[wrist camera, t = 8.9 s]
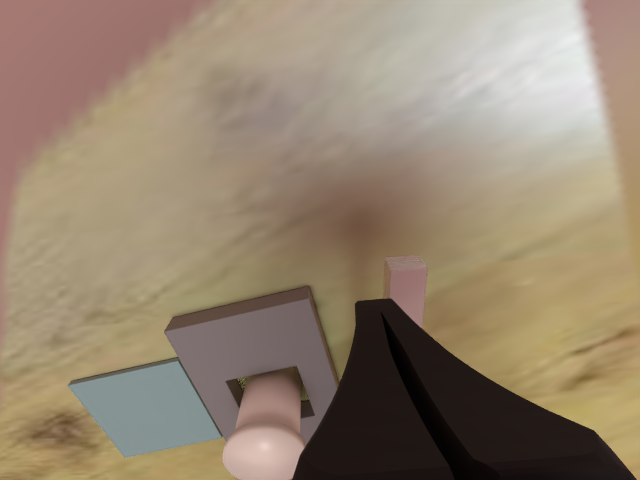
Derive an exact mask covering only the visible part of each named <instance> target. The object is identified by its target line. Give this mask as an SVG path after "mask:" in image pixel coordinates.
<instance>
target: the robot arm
mask: <svg viewBox="0 0 640 480" xmlns="http://www.w3.org/2000/svg"><path fill="white" fill-rule="evenodd" d="M355 317H356V327H355V333H354V339H353V343H352V347H351V351H350V355H349V359H348V362H347V365H346V368H345V371H344V373H343V376H342V379H341V381H340V384H339V386H338V388H337V391H336V393H335V395H334V397H333V399H332V402H331V404H330V405H329V407H328V409H327V411H326V413H325V415H324V417H323V418H322V420H321V422H320V424H319V426H318V427H317V429H316V431H315V432H314V434H313V435H312V437H311V439H310V440H309V442H308V443H307V445H306V446H305V448H304V449H303V451H302V452H301V454H300V457H299V460H298V463H297V466H296V469H295V472H294V475H293V479H292V480H637V479H636V478H635V477H634V476H633V474H632V473H631V472H630V471H629V470H628V468H627V467H626V466H625V465H624V464H623V462H622V461H621V460H620V459H619V458H618V457H617V455H616V454H615V453H614V452H613V451H612V449H611V448H610V447H609V446H608V445H607V444H606V443H605V442H604V441H603V440H602V439H601V438H600V437H599V435H598V434H597V433H596V432H595V431H594V430H591V429H589V428H587V427H585V426H582V425H580V424H578V423H575V422H573V421H571V420H569V419H566V418H564V417H562V416H559V415H557V414H555V413H553V412H550V411H548V410H546V409H544V408H542V407H540V406H538V405H536V404H534V403H532V402H530V401H528V400H526V399H524V398H522V397H520V396H518V395H516V394H515V393H513V392H511V391H509V390H507V389H505V388H504V387H502V386H500V385H499V384H497V383H495V382H493V381H492V380H490V379H488V378H487V377H485V376H483V375H482V374H480V373H479V372H477V371H476V370H474V369H472V368H471V367H470V366H468V365H467V364H465V363H464V362H462V361H461V360H460V359H458V358H457V357H455V356H454V355H453V354H451V353H450V352H449V351H447V350H446V349H445V348H444V347H442V346H441V345H440V344H439V343H438V342H436V341H435V340H434V339H433V338H432V337H431V336H429V335H428V334H427V333H426V332H425V331H424V330H423V329H422V328H421V327H420V326H419V325H417V324H416V323H415V322H414V321H413V320H412V319H411V318H410V317H409V316H408V315H407V314H406V313H405V312H404V311H403V310H402V309H401V308H400V307H399V306H398V304H397V303H396V302H395V301H394V300H393V299H391V298H388V299H376V300H364V301H357V302H356V303H355Z"/></svg>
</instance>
